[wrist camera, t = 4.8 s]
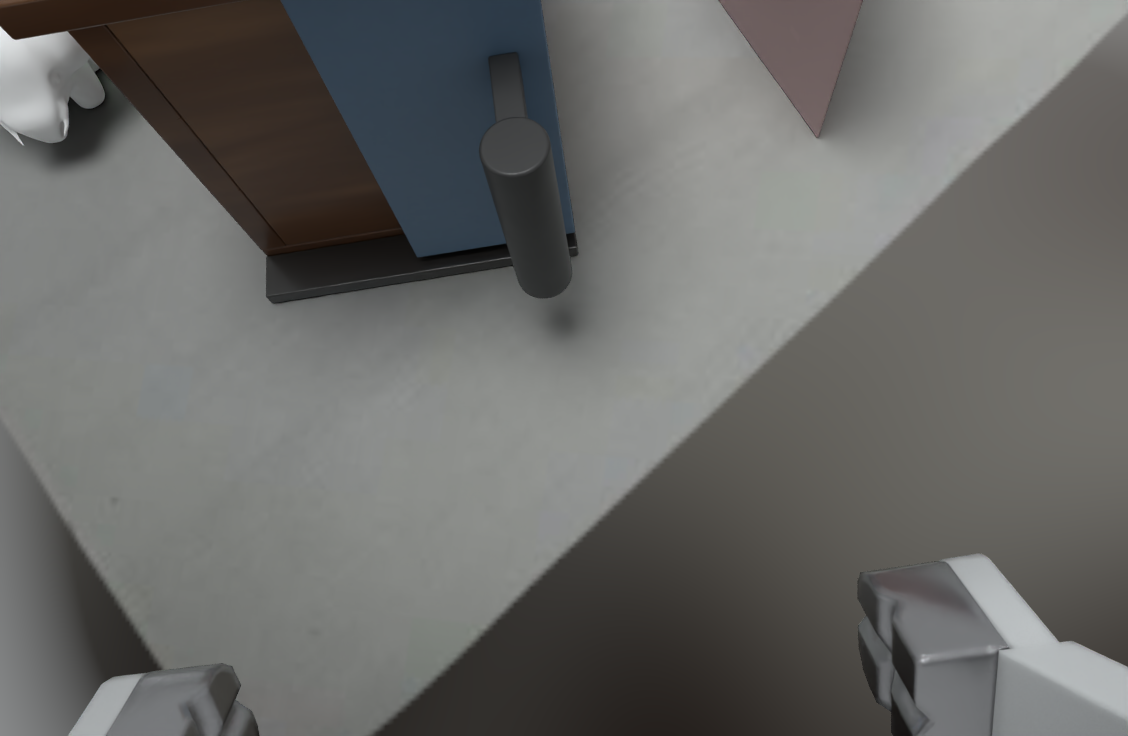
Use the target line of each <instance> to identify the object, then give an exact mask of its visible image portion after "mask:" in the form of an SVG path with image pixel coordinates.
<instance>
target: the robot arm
mask: <svg viewBox="0 0 1128 736" xmlns="http://www.w3.org/2000/svg"><path fill="white" fill-rule="evenodd" d="M858 600H859V602H860V603H861V606H862V608H863V609H864V611H865V613H866V616H865V617H864V619H863V620H862V622H861V623H860V624H859V625H858V640H859V650H860V655H861V660H862V665H863V670H864V673H865V676H866V678H867V681H868V684H869V687H870V689H871V691H872V693H873V695H874V697H875V699H876V702H877V703H878V704H880V705H882V706H883V707H885V708H886V709H888V710H889V711H891V732H892V734H893V736H1128V667H1126V666H1124V665H1122V664H1120V663H1118V662H1116V661H1114V660H1112V659H1110V658H1107V657H1105V656H1103V655H1101V654H1099V653H1097V652H1095V651H1093V650H1090V649H1088V648H1086V647H1084V646H1082V645H1080V644H1078V643H1076V642H1073V641H1067V642H1059V641H1058V640H1057V639H1056V638H1055V637H1054V635H1053V634H1052V633H1051V632H1050V630H1049V629H1048V628H1047V627H1046V626H1045V624H1044V623H1043V622H1042V621H1041V620H1040V619H1039V617H1038V616H1037V615H1036V614H1035V613H1034V612H1033V610H1032V609H1031V608H1030V607H1029V606H1028V604H1027V603H1026V602H1025V601H1024V599H1023V598H1022V597H1021V596H1020V595H1019V594H1018V592H1017V591H1016V590H1015V589H1014V587H1013V586H1012V585H1011V584H1010V583H1009V582H1008V580H1007V579H1006V578H1005V577H1004V576H1003V574H1002V573H1001V572H1000V571H999V569H998V568H997V567H996V566H995V565H994V563H993V562H992V561H991V560H990V559H989V557H987V556H985V555H983V554H981V553H978V554H972V555H966V556H960V557H954V558H947V559H941V560H940V561H934V562H927V563H921V564H914V565H907V566H901V567H894V568H888V569H880V570H874V571H867V572H861V573H860V575H859V579H858ZM240 687H241V684H240V682H239V680H238V678H237V676H236V674H235V671H234V669H233V667H232V666H230V665H226V664H223V663H221V664H212V665H204V666H195V667H187V668H178V669H170V670H162V671H154V672H149V673H142V674H134V675H125V676H117V677H113V678H111V679H109V680H108V681H106V682H104V683H103V684H102V685H101V686H100V687H99V689H98V690H97V692H96V694H95V695H94V697H93V698H92V700H91V701H90V703H89V704H88V706H87V707H86V709H85V710H84V712H83V713H82V715H81V716H80V718H79V720H78V721H77V723H76V724H75V726H74V727H73V729H72V730H71V732H70V733H69V735H68V736H259V731H258V725H257V723H256V720H255V718H254V715H253V713H252V711H251V710H250V709H248V708H247V707H245V706H244V705H242V704H241V703H239V702H238V701H236V700H235V699H236V696H237V694H238V692H239V689H240Z"/></svg>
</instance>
